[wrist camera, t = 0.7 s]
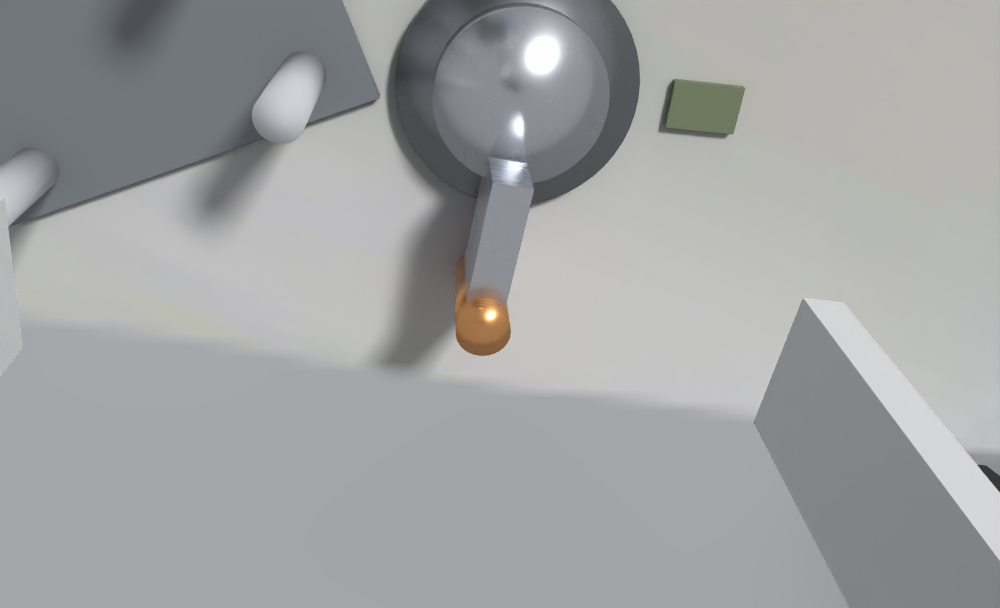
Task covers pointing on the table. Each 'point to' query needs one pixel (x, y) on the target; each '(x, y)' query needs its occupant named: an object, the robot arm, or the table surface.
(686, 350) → the table surface
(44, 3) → the rack
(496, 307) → the lever with ball knob
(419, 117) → the base
